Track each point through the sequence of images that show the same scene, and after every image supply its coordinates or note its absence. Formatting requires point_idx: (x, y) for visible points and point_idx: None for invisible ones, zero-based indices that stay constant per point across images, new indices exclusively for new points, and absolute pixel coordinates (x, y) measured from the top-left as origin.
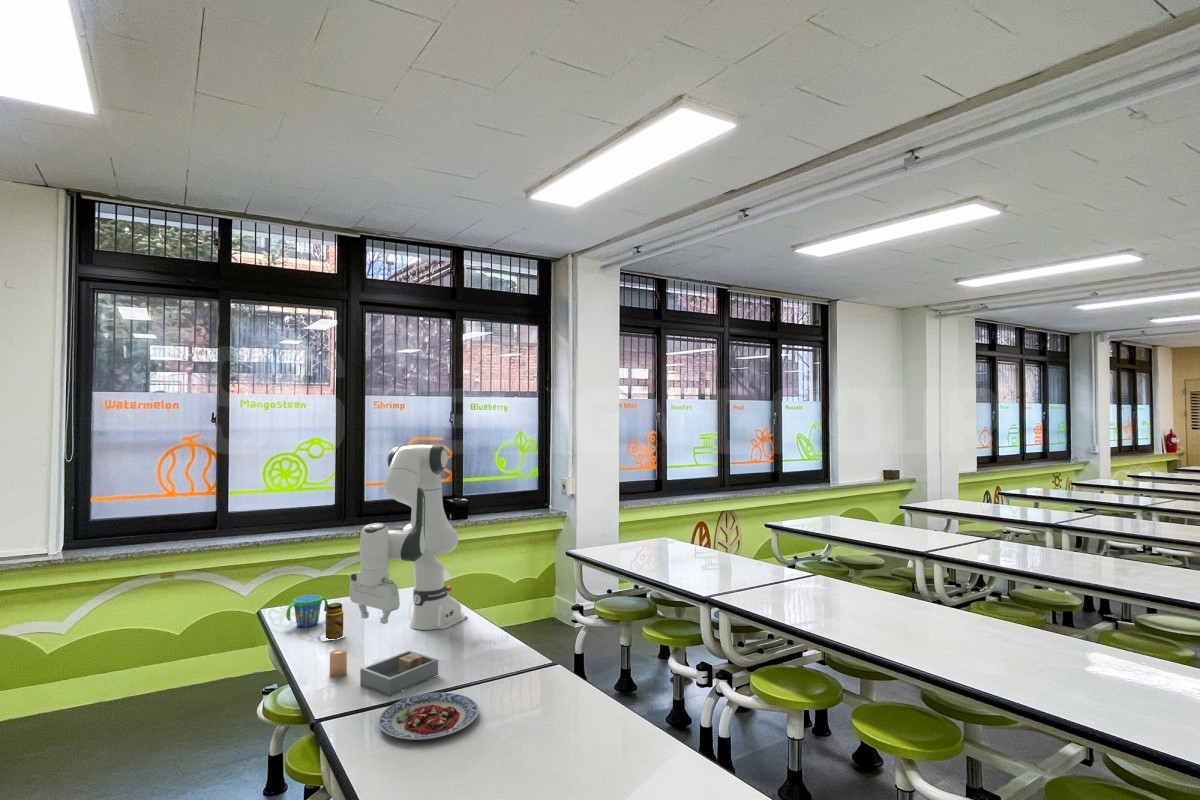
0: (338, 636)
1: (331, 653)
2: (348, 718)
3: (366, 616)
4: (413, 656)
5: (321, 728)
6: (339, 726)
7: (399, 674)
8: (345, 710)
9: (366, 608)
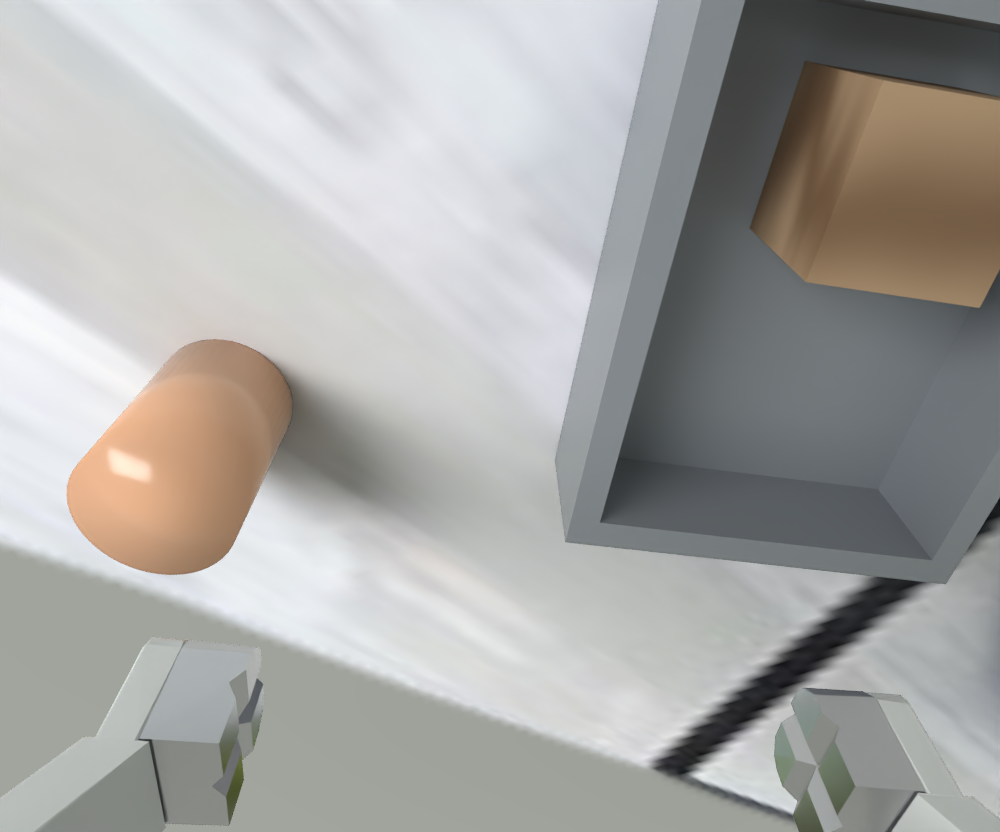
0: None
1: (138, 559)
2: None
3: (244, 699)
4: (961, 161)
5: (739, 801)
6: None
7: (981, 494)
8: (723, 684)
9: (73, 804)
